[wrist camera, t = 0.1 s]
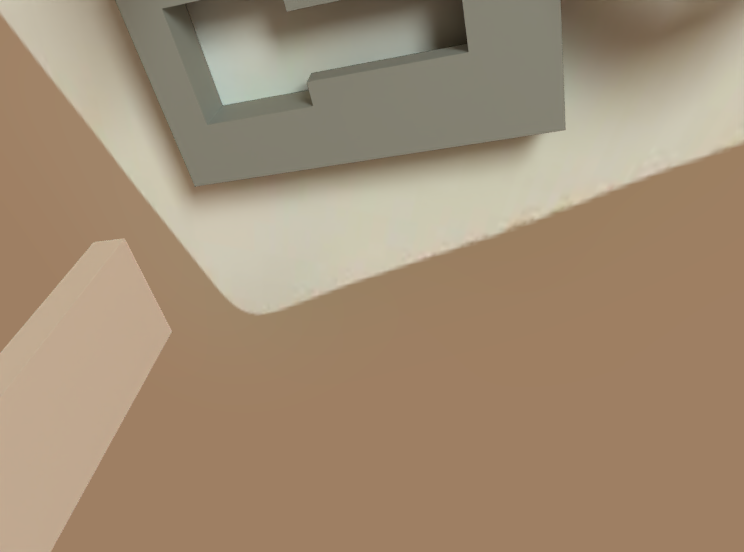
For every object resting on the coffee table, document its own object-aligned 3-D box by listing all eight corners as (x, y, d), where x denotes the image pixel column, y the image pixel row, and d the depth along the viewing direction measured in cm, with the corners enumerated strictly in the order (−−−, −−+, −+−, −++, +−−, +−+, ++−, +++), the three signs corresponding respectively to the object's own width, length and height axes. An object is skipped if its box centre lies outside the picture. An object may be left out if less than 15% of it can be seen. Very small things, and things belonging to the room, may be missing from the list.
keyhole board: (115, -69, 36) (89, -60, 33) (545, -180, 30) (553, -180, 28) (210, 164, 44) (194, 186, 41) (558, 109, 39) (565, 129, 36)
